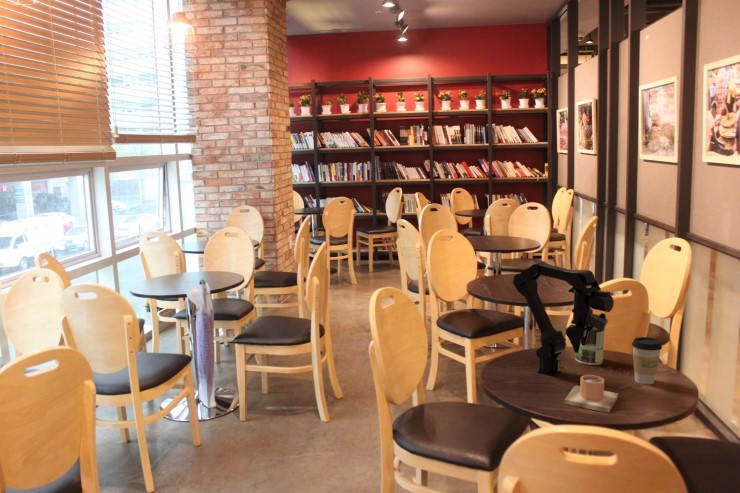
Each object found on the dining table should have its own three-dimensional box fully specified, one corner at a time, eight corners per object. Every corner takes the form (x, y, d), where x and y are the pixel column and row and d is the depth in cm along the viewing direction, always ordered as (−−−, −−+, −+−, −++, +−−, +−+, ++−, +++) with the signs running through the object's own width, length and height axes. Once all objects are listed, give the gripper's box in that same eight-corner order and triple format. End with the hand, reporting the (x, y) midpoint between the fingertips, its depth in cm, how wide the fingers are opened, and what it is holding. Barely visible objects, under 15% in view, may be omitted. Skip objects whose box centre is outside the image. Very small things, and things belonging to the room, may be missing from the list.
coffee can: (582, 365, 244) (584, 330, 242) (571, 356, 254) (572, 322, 252) (608, 364, 245) (610, 328, 243) (595, 355, 256) (597, 321, 253)
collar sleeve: (583, 400, 209) (584, 383, 208) (577, 392, 216) (578, 375, 215) (606, 400, 208) (607, 383, 207) (599, 392, 215) (600, 375, 214)
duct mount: (564, 403, 210) (565, 384, 209) (575, 389, 222) (576, 371, 221) (608, 412, 203) (609, 393, 202) (618, 397, 214) (619, 379, 213)
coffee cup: (657, 388, 222) (660, 346, 219) (627, 383, 227) (629, 342, 224) (661, 379, 230) (664, 339, 227) (632, 374, 235) (634, 334, 233)
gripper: (599, 315, 212) (597, 360, 215) (611, 303, 228) (609, 345, 230) (565, 311, 218) (564, 355, 221) (579, 299, 234) (578, 340, 236)
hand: (580, 349), depth 227 cm, fingers open, 9 cm apart
